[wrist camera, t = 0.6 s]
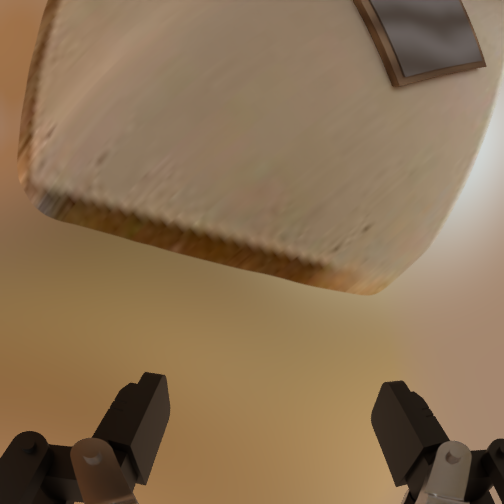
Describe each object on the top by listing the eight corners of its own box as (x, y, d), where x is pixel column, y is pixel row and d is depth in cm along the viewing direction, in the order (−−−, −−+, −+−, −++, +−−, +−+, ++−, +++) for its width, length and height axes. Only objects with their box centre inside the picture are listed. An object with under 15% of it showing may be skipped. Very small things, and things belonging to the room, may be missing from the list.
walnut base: (340, -21, 23) (346, -28, 20) (434, -31, 18) (444, -36, 16) (392, 85, 30) (401, 86, 28) (476, 65, 26) (488, 66, 23)
